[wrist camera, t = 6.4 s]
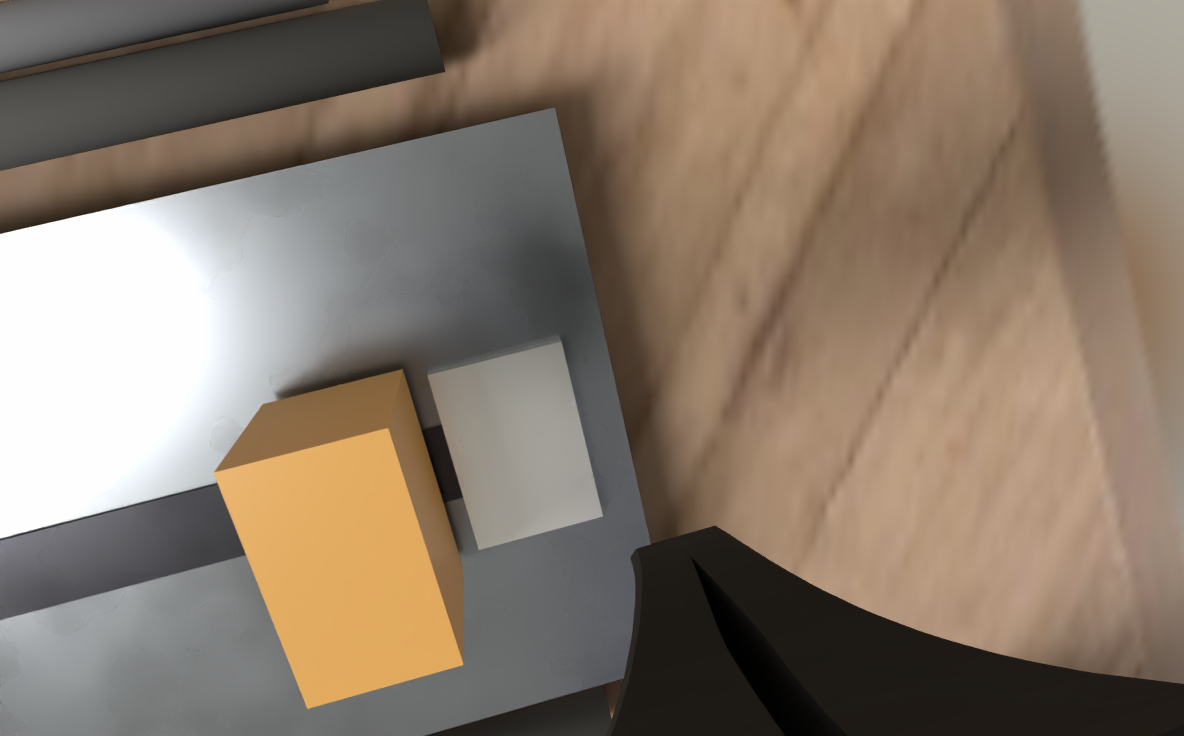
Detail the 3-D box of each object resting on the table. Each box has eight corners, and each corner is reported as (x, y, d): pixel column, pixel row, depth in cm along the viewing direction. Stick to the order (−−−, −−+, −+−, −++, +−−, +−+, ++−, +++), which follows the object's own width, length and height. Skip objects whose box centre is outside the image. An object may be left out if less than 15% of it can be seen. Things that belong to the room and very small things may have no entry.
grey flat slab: (545, 109, 19) (556, 106, 17) (659, 618, 23) (679, 670, 21) (-381, 320, 17) (-503, 348, 15) (-73, 825, 21) (-133, 904, 19)
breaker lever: (402, 368, 18) (388, 427, 14) (463, 568, 19) (463, 665, 16) (262, 404, 17) (213, 472, 14) (335, 603, 19) (307, 708, 15)
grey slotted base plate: (408, -74, 17) (402, -94, 16) (611, 718, 24) (621, 758, 22) (-396, 93, 16) (-486, 89, 15) (49, 881, 23) (20, 936, 21)
